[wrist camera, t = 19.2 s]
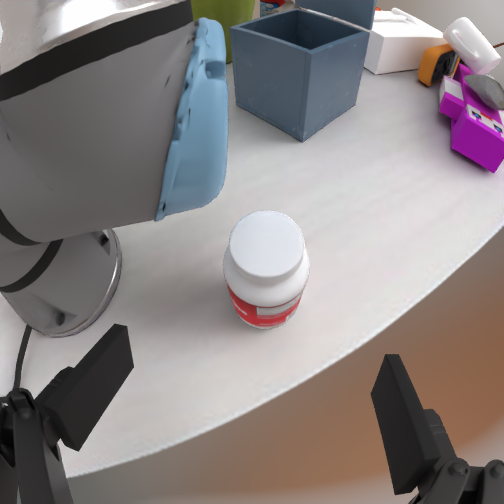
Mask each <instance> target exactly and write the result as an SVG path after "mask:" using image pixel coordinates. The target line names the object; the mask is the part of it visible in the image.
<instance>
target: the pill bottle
mask: <svg viewBox="0 0 504 504" xmlns="http://www.w3.org/2000/svg"><path fill="white" fill-rule="evenodd" d="M309 269H310V262H309V256H308V253H307V250H306V248H305V246H304V237H303V234H302V232H301V230H300V228H299V226H298V225H297V224H296V223H295V222H294V221H293V220H292V219H291V218H289V217H288V216H286V215H284V214H281V213H279V212H275V211H258V212H254V213H251V214H249V215H247V216H245V217H244V218H242V219H241V220H240V221H239V222H238V223H237V224H236V225H235V227H234V228H233V230H232V232H231V235H230V239H229V245H228V247H227V249H226V252H225V255H224V261H223V270H224V276H225V279H226V282H227V286H228V289H229V292H230V296H231V299H232V302H233V305H234V308H235V310H236V312H237V314H238V315H239V317H240V318H241V319H242V320H243V321H244V322H246V323H247V324H249V325H251V326H253V327H256V328H260V329H272V328H276V327H279V326H281V325H283V324H284V323H286V322H287V321H288V320H289V319H290V318H291V317H292V316H293V315H294V313H295V311H296V309H297V307H298V305H299V302H300V299H301V296H302V293H303V290H304V288H305V285H306V282H307V279H308V276H309Z"/></svg>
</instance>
